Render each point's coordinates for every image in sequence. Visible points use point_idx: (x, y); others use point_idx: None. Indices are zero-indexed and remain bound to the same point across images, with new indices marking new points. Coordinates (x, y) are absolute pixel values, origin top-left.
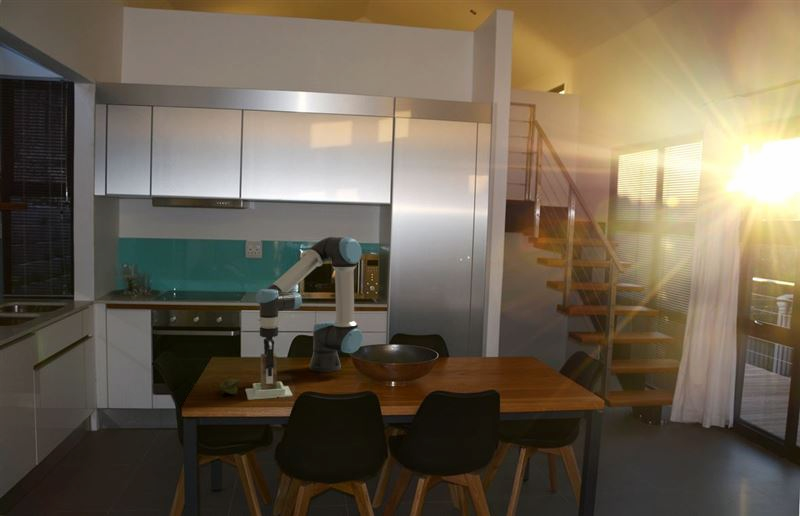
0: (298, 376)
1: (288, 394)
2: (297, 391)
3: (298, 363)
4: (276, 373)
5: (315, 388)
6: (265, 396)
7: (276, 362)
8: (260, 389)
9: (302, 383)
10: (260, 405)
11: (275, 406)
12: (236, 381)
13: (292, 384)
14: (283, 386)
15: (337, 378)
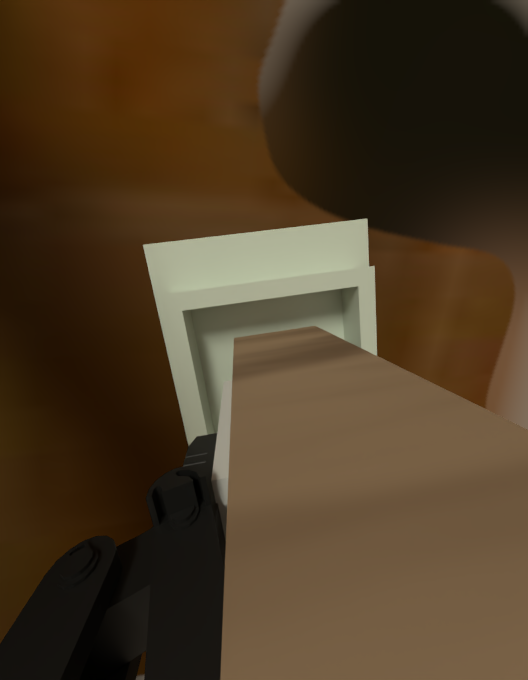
0: None
1: (351, 246)
2: (255, 181)
3: None
4: (374, 355)
5: (187, 15)
6: None
7: (523, 431)
8: (218, 418)
9: (28, 119)
10: (470, 391)
11: (507, 320)
12: None
13: (63, 209)
14: (302, 277)
15: None
